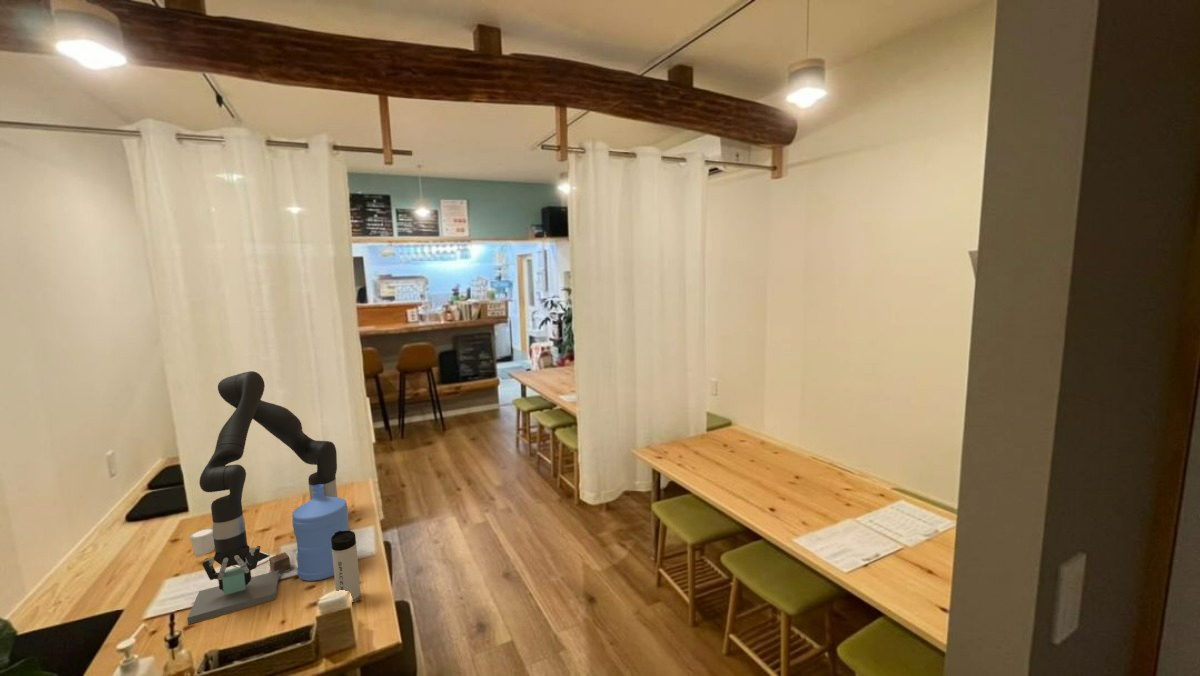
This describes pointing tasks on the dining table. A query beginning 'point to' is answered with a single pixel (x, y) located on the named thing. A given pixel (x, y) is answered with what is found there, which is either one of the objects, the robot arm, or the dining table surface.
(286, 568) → the walnut block
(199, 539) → the white cylinder
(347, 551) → the travel mug
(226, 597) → the slate board
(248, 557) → the cell phone
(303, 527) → the water jug
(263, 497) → the dining table surface
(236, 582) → the teal cube
